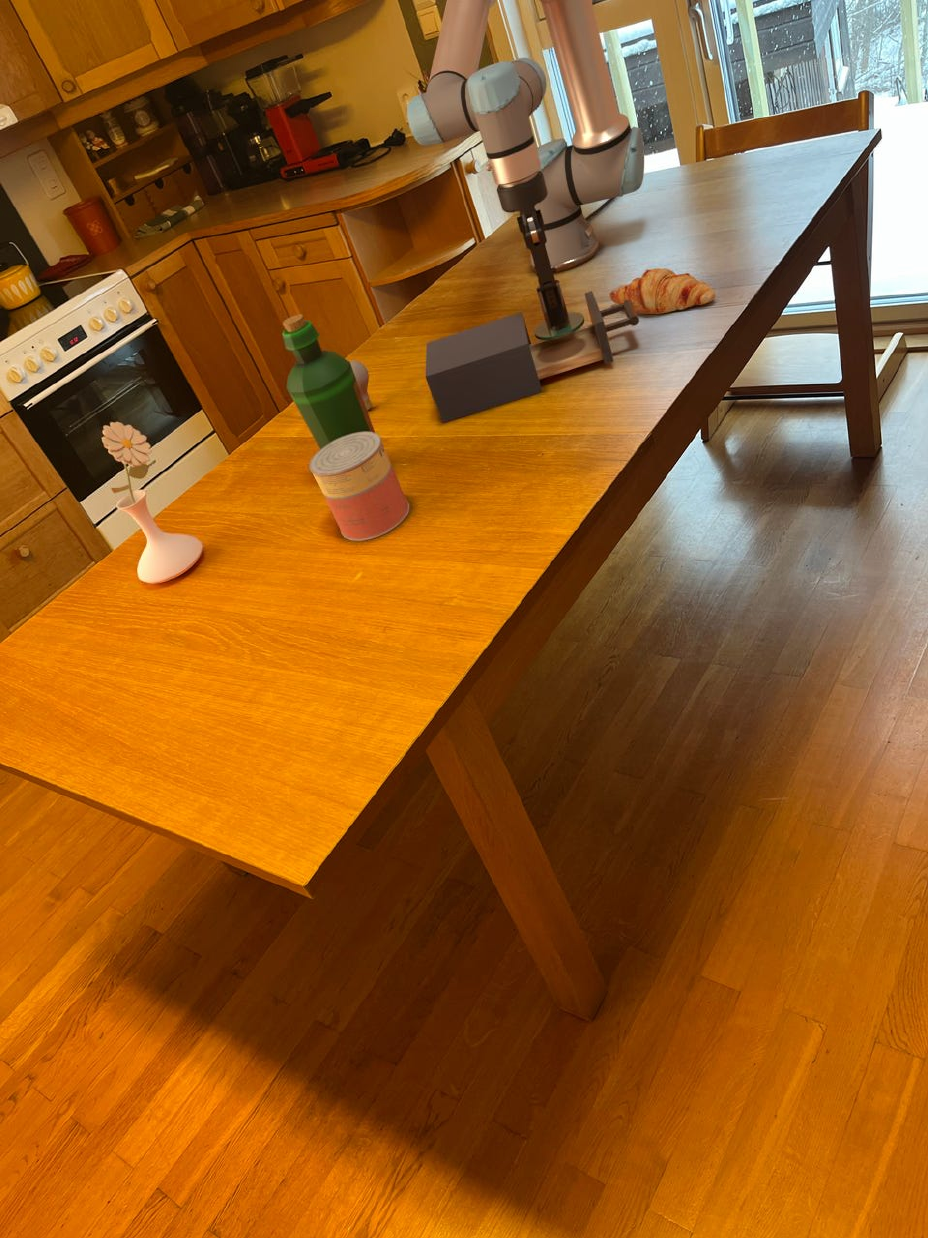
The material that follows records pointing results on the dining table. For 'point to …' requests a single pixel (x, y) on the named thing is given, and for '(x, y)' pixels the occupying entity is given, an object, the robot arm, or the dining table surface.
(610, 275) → the dining table surface
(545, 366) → the drawer
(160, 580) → the flower in vase
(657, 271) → the croissant
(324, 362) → the bottle
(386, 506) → the canned food
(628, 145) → the robot arm
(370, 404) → the light bulb
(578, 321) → the lid
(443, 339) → the cabinet
